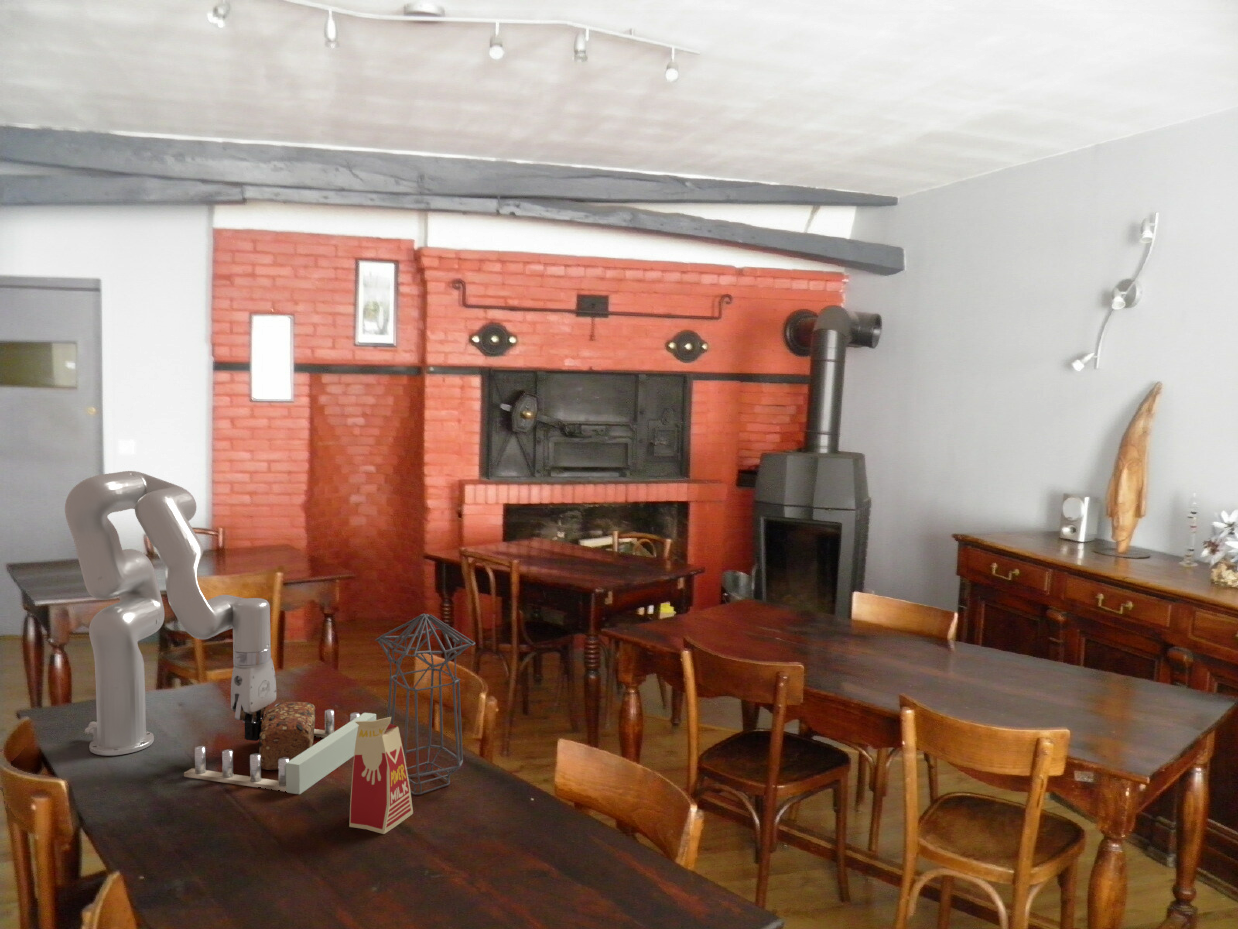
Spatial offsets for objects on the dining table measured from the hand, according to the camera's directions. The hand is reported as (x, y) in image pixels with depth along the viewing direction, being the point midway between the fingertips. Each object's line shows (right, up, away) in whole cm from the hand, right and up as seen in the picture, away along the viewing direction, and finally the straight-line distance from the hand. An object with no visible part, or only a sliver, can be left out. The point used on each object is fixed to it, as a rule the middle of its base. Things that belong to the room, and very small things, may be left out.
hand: (253, 739), depth 207 cm
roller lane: (+7, -4, -2) cm, 8 cm away
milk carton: (+35, -7, -29) cm, 46 cm away
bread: (+7, -4, 0) cm, 8 cm away
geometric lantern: (+40, -5, -13) cm, 42 cm away
